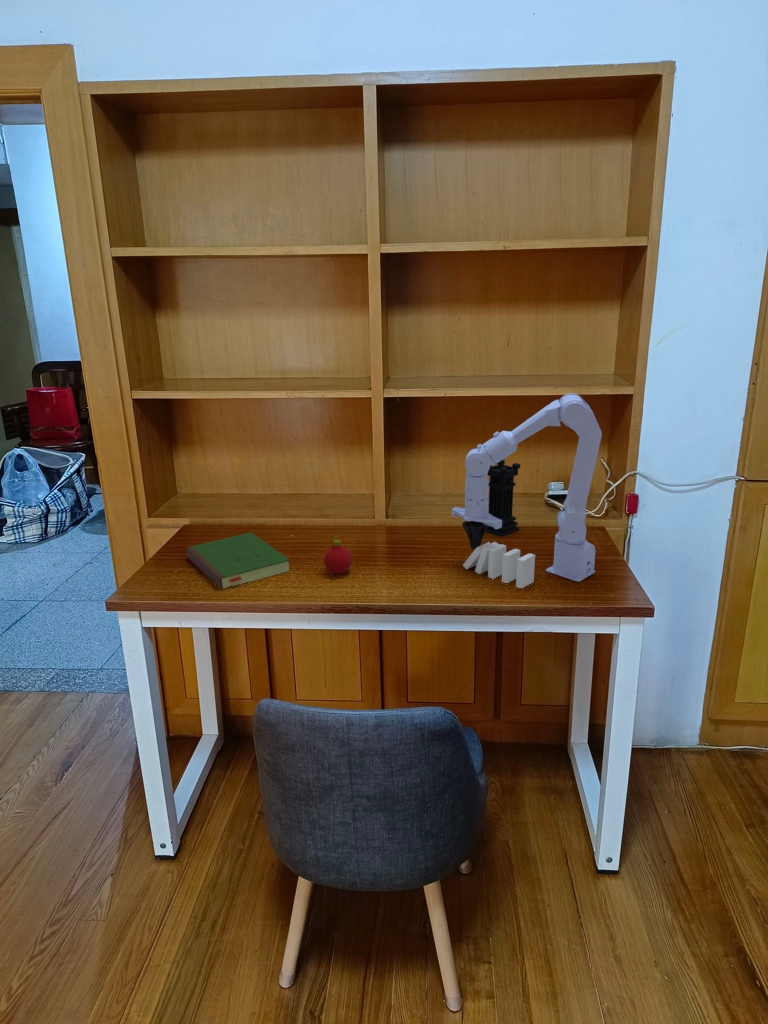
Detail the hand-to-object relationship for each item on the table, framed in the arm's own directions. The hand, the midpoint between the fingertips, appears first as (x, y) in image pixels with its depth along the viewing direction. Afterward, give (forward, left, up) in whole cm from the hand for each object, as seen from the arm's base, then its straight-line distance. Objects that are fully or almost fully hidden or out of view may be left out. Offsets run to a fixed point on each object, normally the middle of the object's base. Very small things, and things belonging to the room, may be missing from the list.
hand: (475, 548), depth 173 cm
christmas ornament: (+24, +26, -6) cm, 35 cm away
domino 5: (-15, 0, -5) cm, 16 cm away
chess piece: (+12, -26, -6) cm, 29 cm away
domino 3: (-7, 0, -5) cm, 9 cm away
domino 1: (+1, 0, -5) cm, 5 cm away
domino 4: (-11, 0, -5) cm, 12 cm away
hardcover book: (+47, +41, -6) cm, 62 cm away
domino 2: (-3, 0, -5) cm, 6 cm away
